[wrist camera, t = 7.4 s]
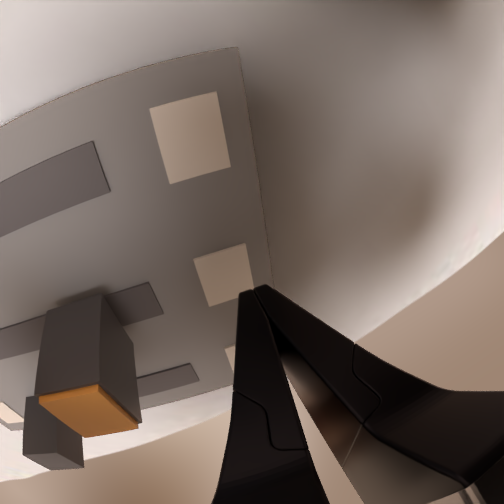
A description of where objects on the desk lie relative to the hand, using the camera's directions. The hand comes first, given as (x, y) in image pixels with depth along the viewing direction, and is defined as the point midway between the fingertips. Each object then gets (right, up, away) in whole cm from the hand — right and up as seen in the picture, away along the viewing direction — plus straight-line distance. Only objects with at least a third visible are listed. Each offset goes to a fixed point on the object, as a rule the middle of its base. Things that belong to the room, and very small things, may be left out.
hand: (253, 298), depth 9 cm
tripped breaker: (-5, -1, 0) cm, 5 cm away
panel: (-7, -1, +1) cm, 7 cm away
